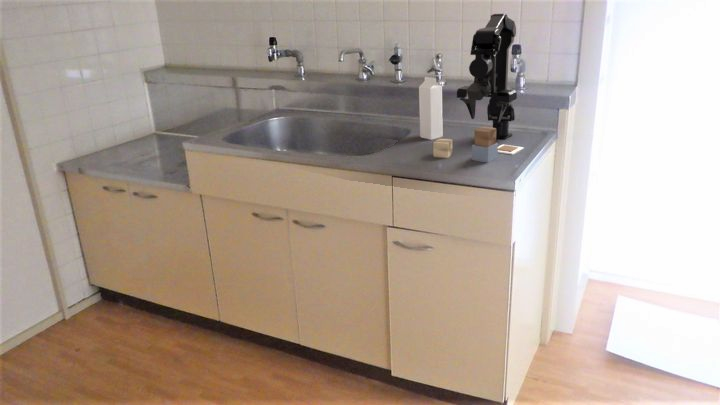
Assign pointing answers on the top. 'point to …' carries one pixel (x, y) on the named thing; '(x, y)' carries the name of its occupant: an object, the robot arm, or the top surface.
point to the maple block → (442, 148)
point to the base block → (484, 153)
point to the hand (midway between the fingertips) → (485, 120)
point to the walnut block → (485, 136)
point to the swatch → (509, 149)
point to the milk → (430, 109)
